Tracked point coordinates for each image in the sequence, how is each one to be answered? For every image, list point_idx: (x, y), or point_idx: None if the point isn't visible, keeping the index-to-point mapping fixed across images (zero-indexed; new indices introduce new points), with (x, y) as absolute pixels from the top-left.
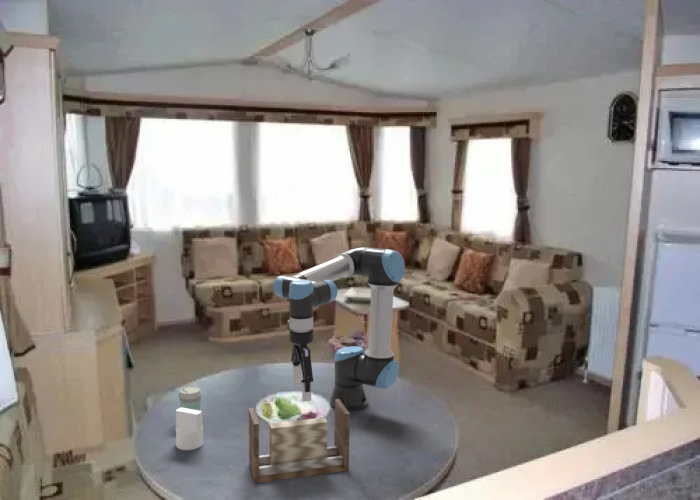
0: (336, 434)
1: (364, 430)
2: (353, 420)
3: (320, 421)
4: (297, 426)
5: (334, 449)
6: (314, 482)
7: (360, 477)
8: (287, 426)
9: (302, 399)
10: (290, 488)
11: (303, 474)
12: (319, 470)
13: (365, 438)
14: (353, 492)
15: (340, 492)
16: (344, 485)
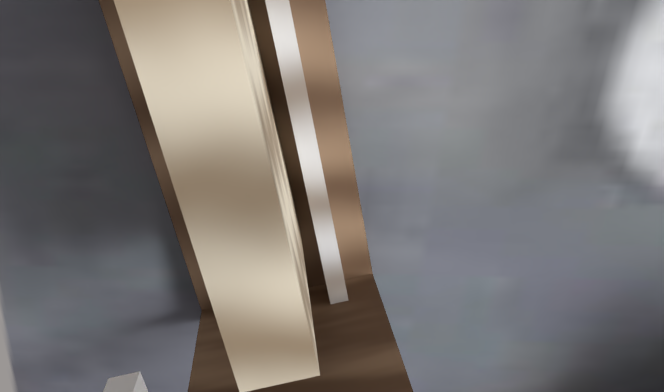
0: (352, 343)
1: (553, 387)
2: (659, 350)
3: (251, 349)
4: (175, 182)
5: (327, 289)
6: (91, 175)
7: (148, 359)
8: (148, 99)
9: (127, 387)
10: (20, 56)
11: (142, 126)
12: (174, 205)
13: (481, 388)
14: (21, 331)
15: (14, 283)
16: (76, 299)
